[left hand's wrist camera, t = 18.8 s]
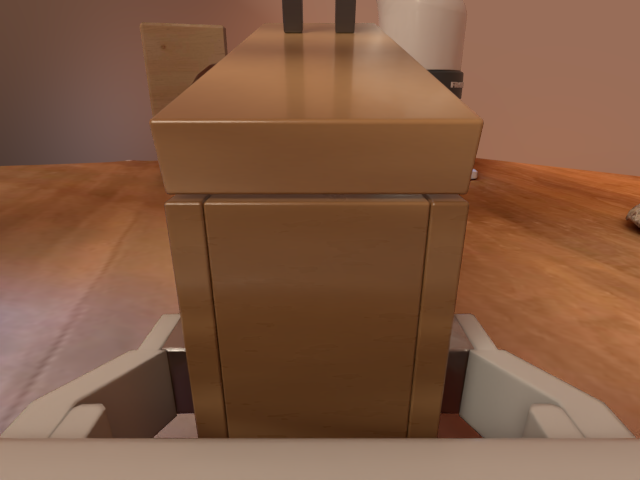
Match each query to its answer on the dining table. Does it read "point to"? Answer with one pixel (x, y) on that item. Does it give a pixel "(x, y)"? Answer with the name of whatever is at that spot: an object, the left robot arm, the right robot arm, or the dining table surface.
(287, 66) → the lid
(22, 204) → the dining table surface
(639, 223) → the rock
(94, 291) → the dining table surface
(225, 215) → the chest
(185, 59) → the decorative block
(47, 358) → the dining table surface
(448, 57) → the right robot arm
